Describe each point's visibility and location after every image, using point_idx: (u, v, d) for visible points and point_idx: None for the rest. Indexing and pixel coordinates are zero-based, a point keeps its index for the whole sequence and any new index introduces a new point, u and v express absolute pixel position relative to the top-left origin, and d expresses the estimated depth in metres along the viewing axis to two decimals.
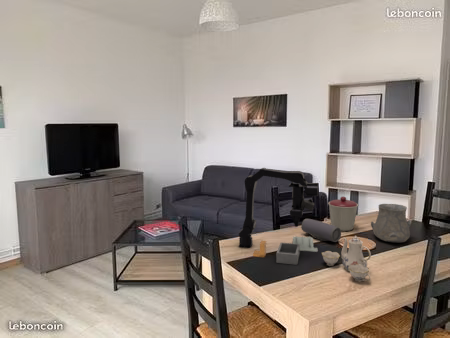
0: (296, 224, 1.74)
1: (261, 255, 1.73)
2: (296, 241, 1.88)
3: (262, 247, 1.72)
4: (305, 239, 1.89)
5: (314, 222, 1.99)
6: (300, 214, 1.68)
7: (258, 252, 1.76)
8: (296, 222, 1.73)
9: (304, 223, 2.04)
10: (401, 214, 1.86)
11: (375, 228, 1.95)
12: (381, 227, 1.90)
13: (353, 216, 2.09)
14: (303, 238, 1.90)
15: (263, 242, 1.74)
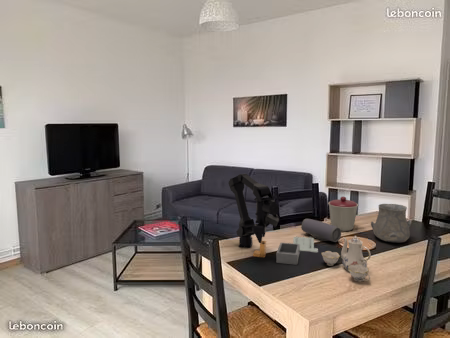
0: (259, 240, 1.69)
1: (261, 255, 1.73)
2: (297, 241, 1.88)
3: (262, 247, 1.72)
4: (306, 239, 1.89)
5: (314, 222, 1.99)
6: (262, 231, 1.64)
7: (258, 252, 1.76)
8: (259, 238, 1.69)
9: (304, 223, 2.04)
10: (401, 214, 1.86)
11: (375, 228, 1.95)
12: (381, 227, 1.90)
13: (353, 216, 2.09)
14: (304, 238, 1.90)
15: (263, 242, 1.74)
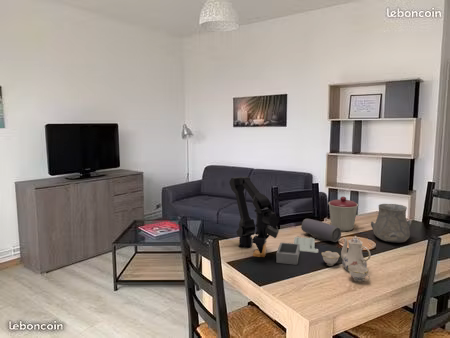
0: (260, 250, 1.72)
1: (261, 255, 1.73)
2: (298, 242, 1.87)
3: None
4: (307, 240, 1.88)
5: (314, 222, 1.99)
6: (262, 242, 1.65)
7: (258, 252, 1.76)
8: (260, 248, 1.71)
9: (304, 223, 2.04)
10: (401, 214, 1.86)
11: (375, 228, 1.95)
12: (381, 227, 1.90)
13: (353, 216, 2.09)
14: (305, 239, 1.89)
15: None
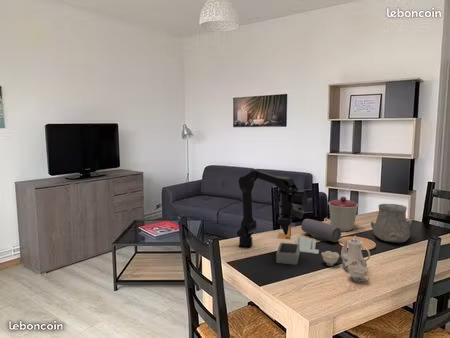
0: (285, 232, 1.66)
1: (286, 237, 1.67)
2: (299, 242, 1.86)
3: None
4: (308, 240, 1.87)
5: (314, 222, 1.99)
6: (288, 223, 1.59)
7: (283, 234, 1.70)
8: (285, 230, 1.66)
9: (304, 223, 2.04)
10: (401, 214, 1.86)
11: (375, 228, 1.95)
12: (381, 227, 1.90)
13: (353, 216, 2.09)
14: (306, 239, 1.88)
15: None
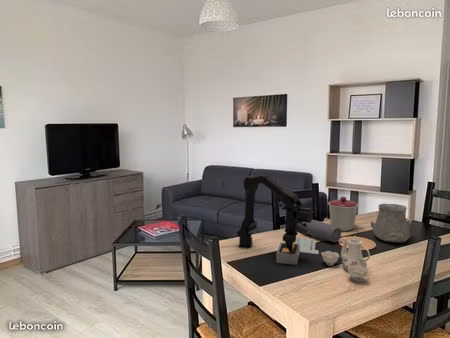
0: (290, 248, 1.67)
1: (290, 253, 1.68)
2: (298, 243, 1.86)
3: None
4: (307, 241, 1.86)
5: (314, 222, 1.99)
6: (293, 240, 1.60)
7: (287, 250, 1.71)
8: (289, 246, 1.67)
9: None
10: (401, 214, 1.86)
11: (375, 228, 1.95)
12: (381, 227, 1.90)
13: (353, 216, 2.09)
14: (306, 240, 1.88)
15: None
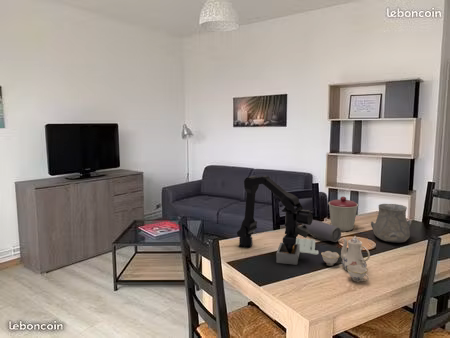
0: (289, 251, 1.66)
1: None
2: (298, 243, 1.85)
3: None
4: (307, 241, 1.86)
5: (314, 222, 1.99)
6: (293, 242, 1.60)
7: None
8: (289, 249, 1.66)
9: None
10: (401, 214, 1.86)
11: (375, 228, 1.95)
12: (381, 227, 1.90)
13: (353, 216, 2.09)
14: (305, 240, 1.87)
15: None
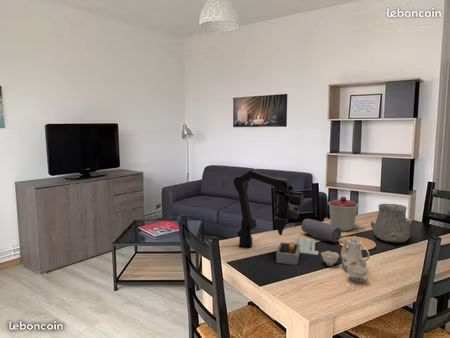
0: (280, 232, 1.71)
1: None
2: (298, 243, 1.85)
3: (291, 249, 1.68)
4: (307, 241, 1.86)
5: (314, 222, 1.99)
6: (284, 223, 1.65)
7: None
8: (280, 230, 1.70)
9: (304, 223, 2.04)
10: (401, 214, 1.86)
11: (375, 228, 1.95)
12: (381, 227, 1.90)
13: (353, 216, 2.09)
14: (305, 240, 1.87)
15: (292, 244, 1.70)
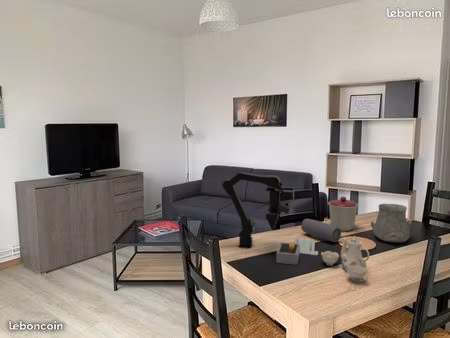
0: (272, 227, 1.78)
1: None
2: None
3: (291, 249, 1.68)
4: (307, 242, 1.85)
5: (314, 222, 1.99)
6: (275, 217, 1.72)
7: None
8: (272, 225, 1.77)
9: (304, 223, 2.04)
10: (401, 214, 1.86)
11: (375, 228, 1.95)
12: (381, 227, 1.90)
13: (353, 216, 2.09)
14: (305, 241, 1.86)
15: (292, 244, 1.70)
